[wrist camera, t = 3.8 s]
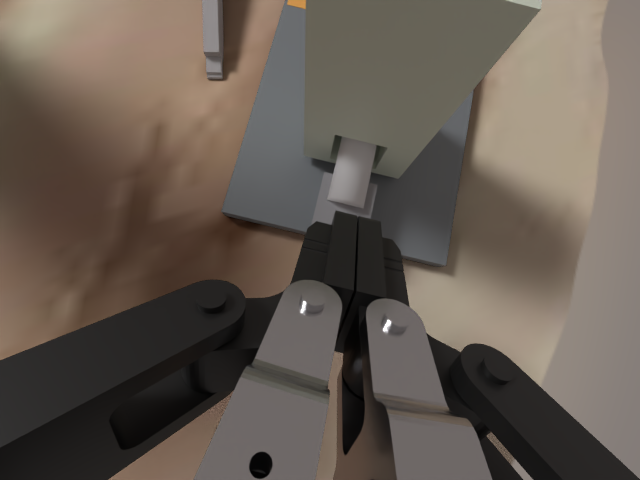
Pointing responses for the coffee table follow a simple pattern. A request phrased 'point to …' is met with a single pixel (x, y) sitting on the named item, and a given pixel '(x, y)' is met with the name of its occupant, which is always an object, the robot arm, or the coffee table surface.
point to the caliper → (213, 37)
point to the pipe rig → (339, 164)
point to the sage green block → (398, 69)
